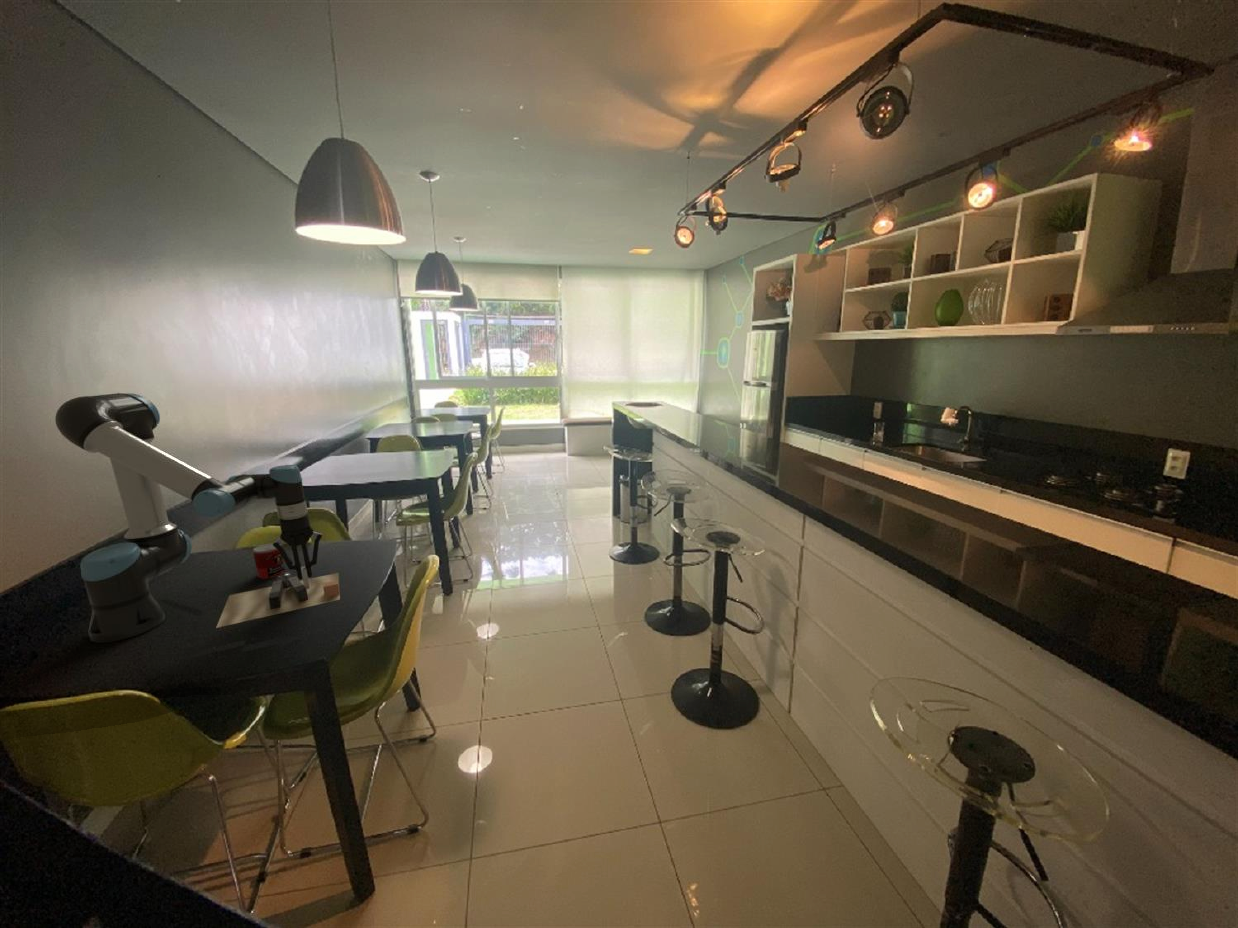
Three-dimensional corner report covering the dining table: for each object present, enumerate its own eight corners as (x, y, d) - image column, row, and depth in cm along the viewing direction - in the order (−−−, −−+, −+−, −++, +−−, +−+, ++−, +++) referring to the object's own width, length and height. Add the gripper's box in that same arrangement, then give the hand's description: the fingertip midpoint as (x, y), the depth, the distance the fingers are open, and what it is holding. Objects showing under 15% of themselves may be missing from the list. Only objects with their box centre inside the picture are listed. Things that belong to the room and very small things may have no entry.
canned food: (272, 582, 164) (266, 552, 161) (252, 580, 166) (246, 550, 163) (291, 572, 171) (286, 543, 169) (272, 571, 173) (266, 542, 170)
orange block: (324, 597, 151) (323, 587, 150) (324, 593, 153) (323, 583, 152) (339, 594, 153) (338, 583, 152) (339, 590, 155) (337, 580, 154)
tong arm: (289, 588, 157) (287, 578, 156) (298, 585, 159) (296, 575, 158) (298, 602, 148) (296, 591, 147) (308, 599, 149) (306, 588, 149)
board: (216, 631, 135) (216, 627, 135) (230, 598, 153) (229, 595, 153) (340, 602, 150) (339, 599, 149) (339, 575, 168) (338, 572, 168)
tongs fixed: (276, 585, 159) (273, 574, 158) (292, 582, 161) (291, 571, 160) (270, 609, 144) (268, 597, 143) (289, 605, 146) (287, 593, 145)
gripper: (266, 523, 141) (281, 597, 146) (318, 515, 147) (331, 586, 153) (269, 516, 147) (283, 588, 153) (318, 508, 154) (330, 577, 159)
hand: (307, 587), depth 153 cm, fingers closed
